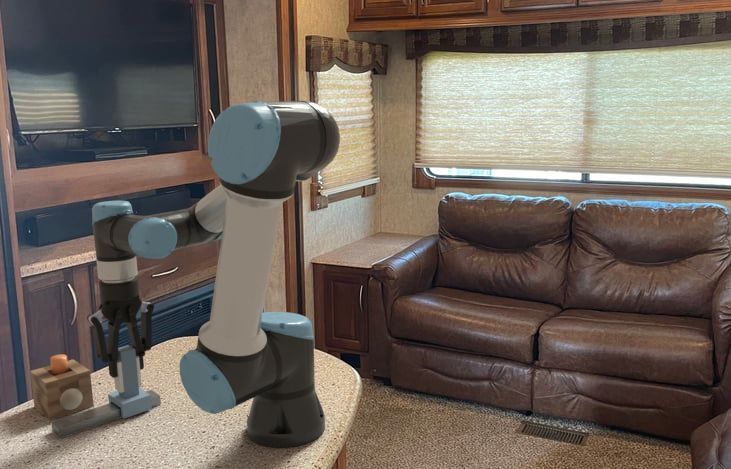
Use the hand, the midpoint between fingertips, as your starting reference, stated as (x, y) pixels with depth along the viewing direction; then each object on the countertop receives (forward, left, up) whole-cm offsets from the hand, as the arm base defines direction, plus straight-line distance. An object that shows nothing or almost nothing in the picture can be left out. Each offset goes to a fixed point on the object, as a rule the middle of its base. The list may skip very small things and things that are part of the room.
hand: (128, 387), depth 144 cm
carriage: (0, 0, -5) cm, 5 cm away
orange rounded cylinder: (+12, +9, +2) cm, 15 cm away
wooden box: (+12, +9, -5) cm, 16 cm away
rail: (0, +5, -5) cm, 7 cm away
